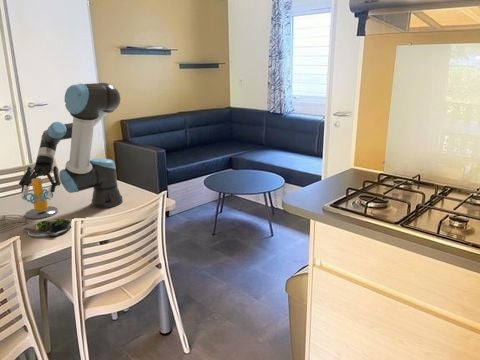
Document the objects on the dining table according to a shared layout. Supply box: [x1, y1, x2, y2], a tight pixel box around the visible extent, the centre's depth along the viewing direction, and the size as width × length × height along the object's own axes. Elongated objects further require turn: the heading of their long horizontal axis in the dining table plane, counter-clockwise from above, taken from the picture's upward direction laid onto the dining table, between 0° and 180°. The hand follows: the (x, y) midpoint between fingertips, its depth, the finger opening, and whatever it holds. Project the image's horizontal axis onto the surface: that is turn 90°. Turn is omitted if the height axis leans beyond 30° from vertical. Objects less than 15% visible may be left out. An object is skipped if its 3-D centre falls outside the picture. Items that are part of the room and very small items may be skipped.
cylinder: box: [24, 177, 54, 211], centre depth 182 cm, size 12×10×15 cm
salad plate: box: [22, 218, 72, 238], centre depth 166 cm, size 19×18×5 cm
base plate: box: [24, 205, 59, 220], centre depth 185 cm, size 14×14×1 cm
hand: (36, 198), depth 180 cm, fingers closed on cylinder, 11 cm apart
